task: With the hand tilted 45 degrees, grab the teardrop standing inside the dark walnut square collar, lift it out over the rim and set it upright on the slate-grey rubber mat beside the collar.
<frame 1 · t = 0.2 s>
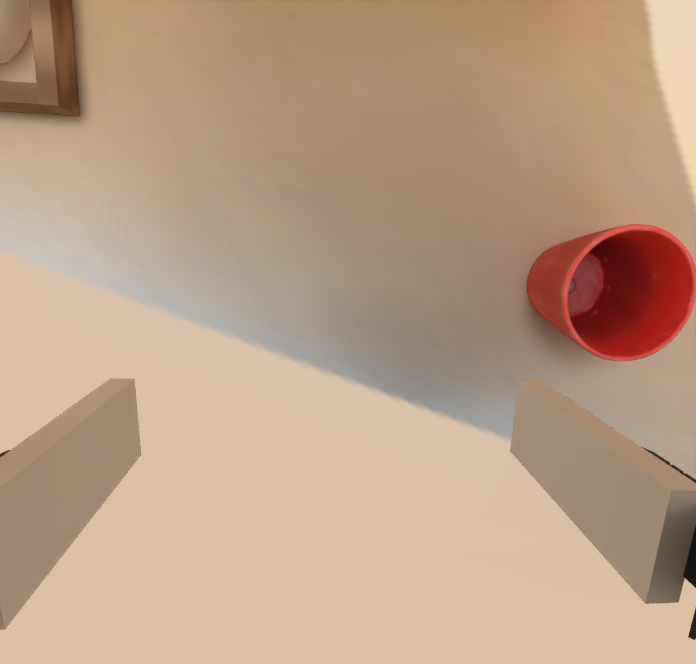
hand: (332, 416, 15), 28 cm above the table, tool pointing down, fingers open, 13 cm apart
flower pot: (562, 283, 43), on the table
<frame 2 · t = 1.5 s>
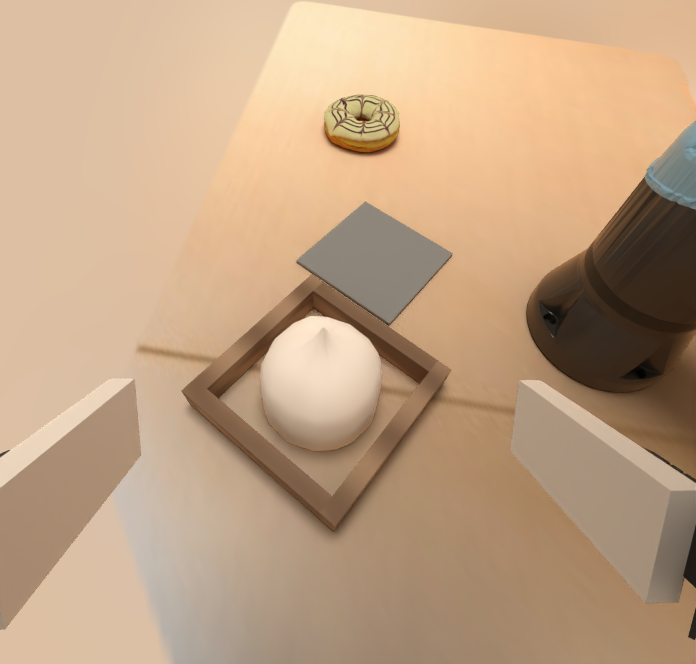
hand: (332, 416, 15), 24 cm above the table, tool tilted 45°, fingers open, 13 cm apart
grey mat: (375, 259, 50), on the table
teardrop: (320, 394, 41), resting in walnut collar
decorated donut: (360, 135, 63), on the table
walnut collar: (321, 393, 41), on the table
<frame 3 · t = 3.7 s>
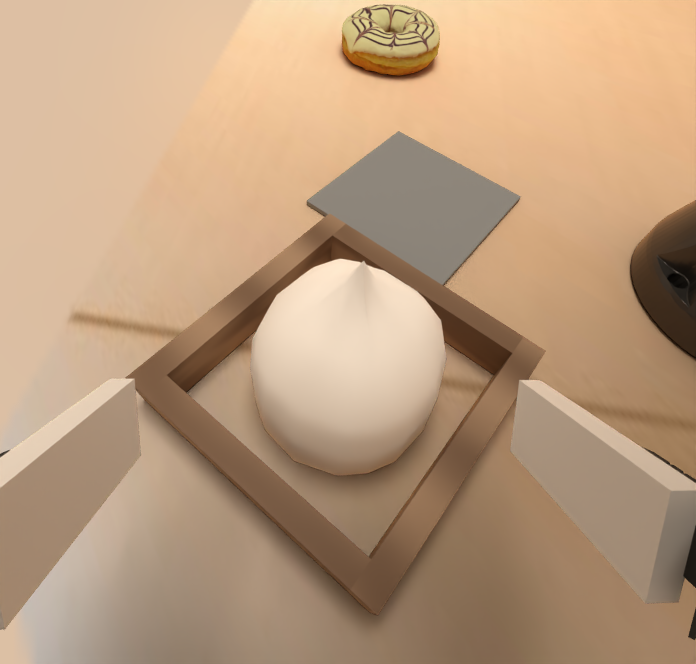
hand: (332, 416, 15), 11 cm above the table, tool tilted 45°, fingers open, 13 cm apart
grey mat: (415, 202, 36), on the table
teardrop: (344, 387, 27), resting in walnut collar
decorated donut: (387, 58, 49), on the table
walnut collar: (344, 385, 27), on the table
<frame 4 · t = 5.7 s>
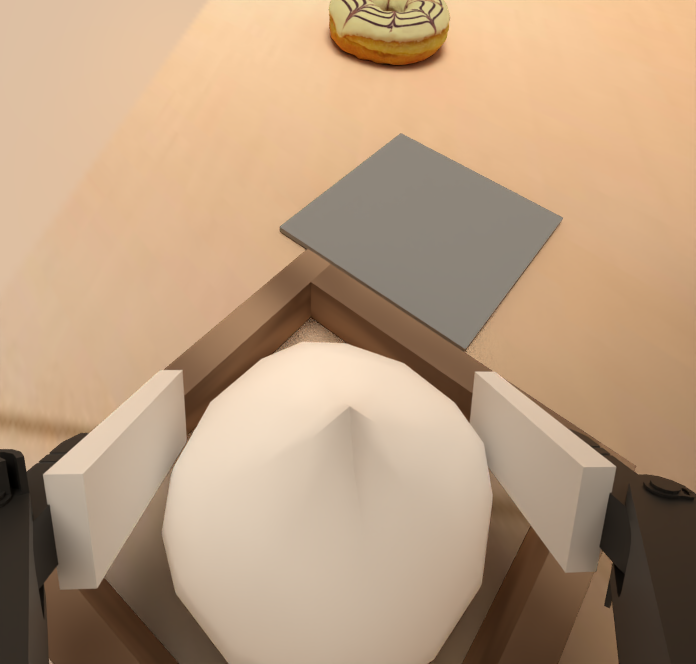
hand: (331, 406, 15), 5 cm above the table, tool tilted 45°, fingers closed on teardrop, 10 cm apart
grey mat: (426, 226, 27), on the table
teardrop: (327, 515, 18), resting in walnut collar, touching gripper
decorated donut: (385, 45, 40), on the table
walnut collar: (328, 514, 18), on the table
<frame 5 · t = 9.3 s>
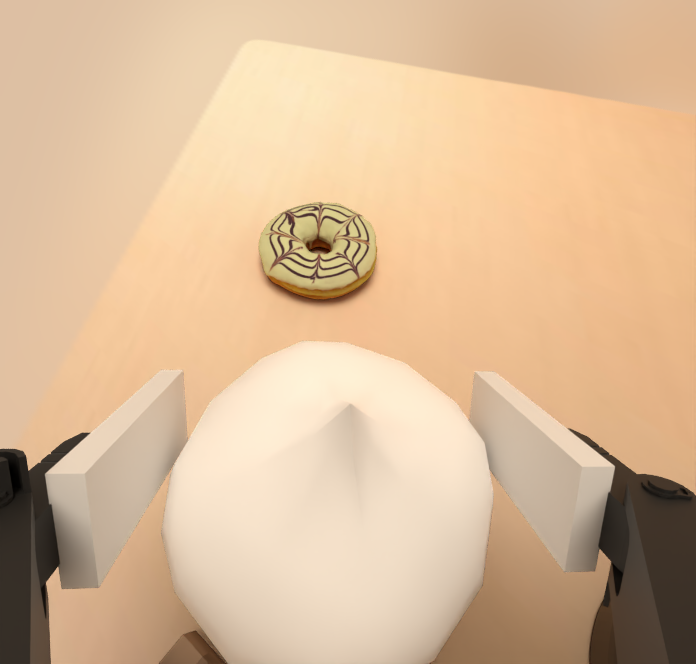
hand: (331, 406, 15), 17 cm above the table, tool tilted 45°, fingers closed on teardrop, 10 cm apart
teardrop: (328, 515, 18), point 12 cm above the table, touching gripper
decorated donut: (318, 263, 41), on the table
when the fingers open (6 cm above the table, at t = 12.4 s): teardrop drops 1 cm, resting on grey mat.
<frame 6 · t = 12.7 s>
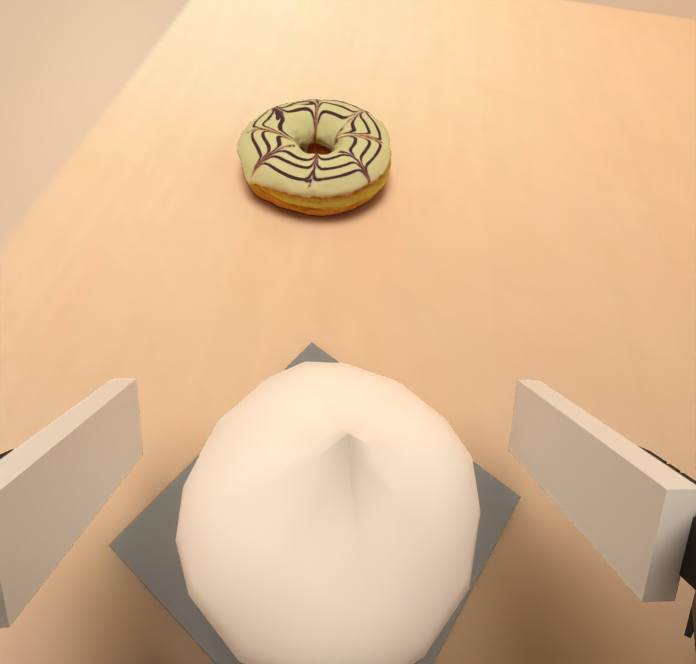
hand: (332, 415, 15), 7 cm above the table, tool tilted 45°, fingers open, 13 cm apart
grey mat: (326, 521, 19), on the table
teardrop: (328, 521, 19), resting on grey mat
decorated donut: (315, 178, 32), on the table
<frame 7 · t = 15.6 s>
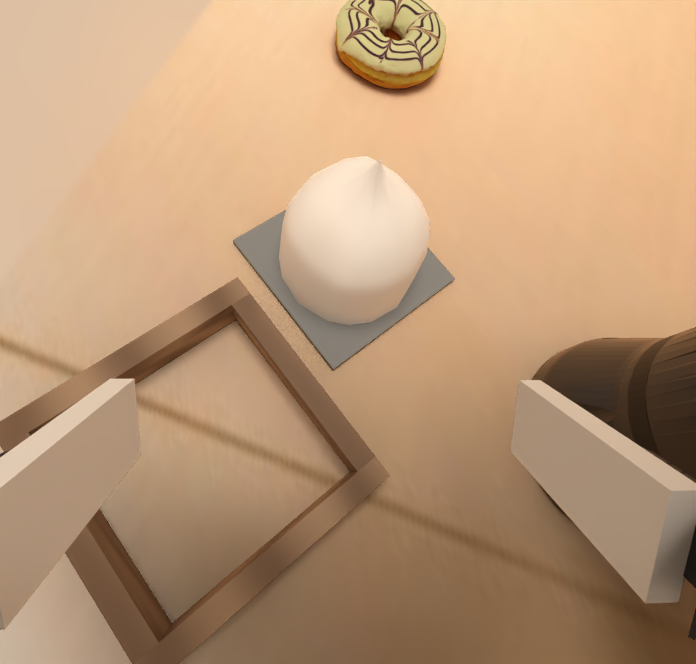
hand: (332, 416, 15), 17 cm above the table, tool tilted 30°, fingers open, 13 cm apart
grey mat: (346, 262, 35), on the table
teardrop: (347, 262, 35), resting on grey mat
decorated donut: (385, 58, 44), on the table
walnut collar: (207, 454, 29), on the table
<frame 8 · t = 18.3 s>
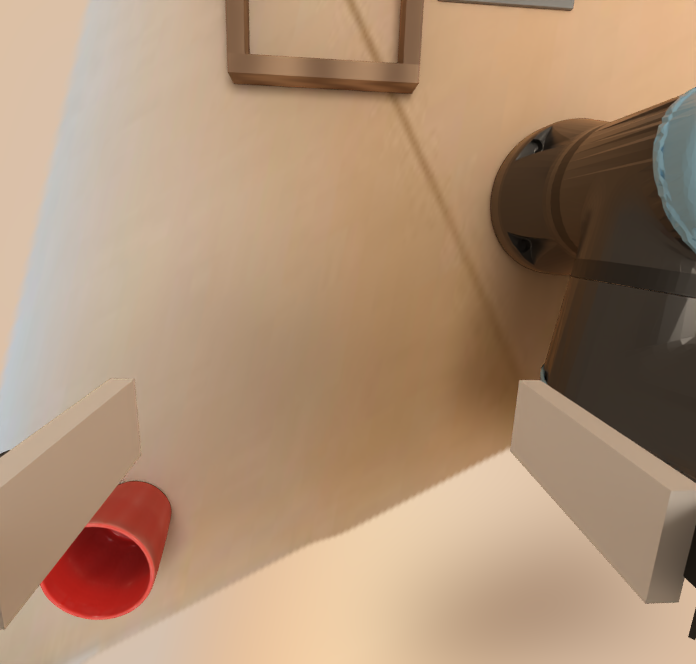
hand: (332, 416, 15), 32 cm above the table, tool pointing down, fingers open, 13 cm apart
flower pot: (137, 508, 50), on the table
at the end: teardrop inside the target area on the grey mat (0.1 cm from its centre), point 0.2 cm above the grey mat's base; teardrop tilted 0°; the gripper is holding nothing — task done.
